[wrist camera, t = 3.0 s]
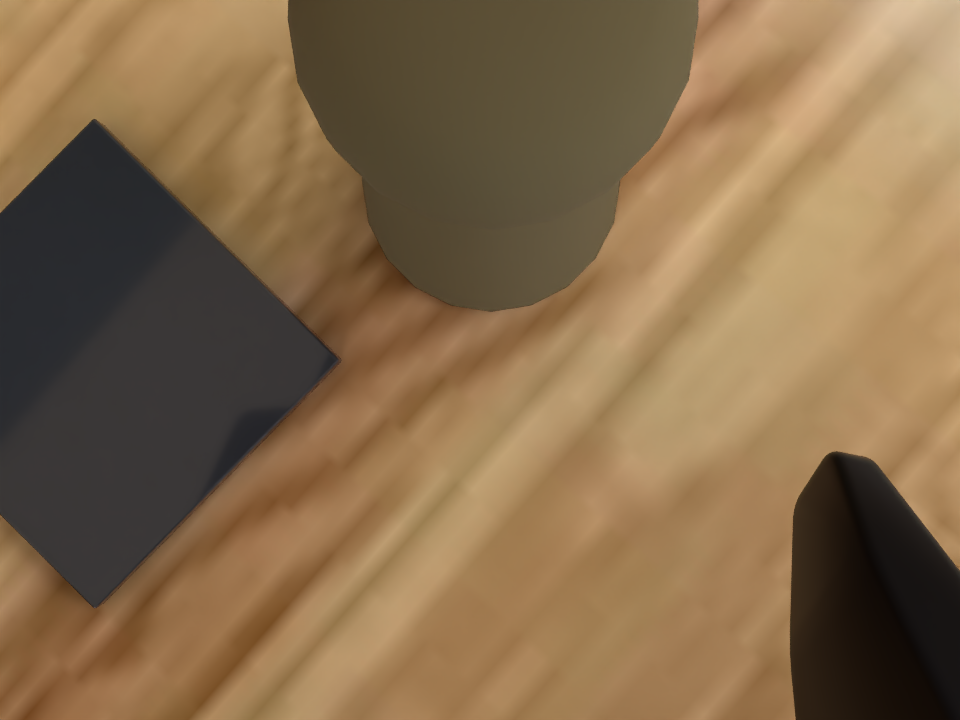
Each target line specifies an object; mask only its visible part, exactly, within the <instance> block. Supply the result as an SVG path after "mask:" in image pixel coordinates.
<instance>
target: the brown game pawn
mask: <svg viewBox="0 0 960 720" xmlns="http://www.w3.org/2000/svg"><path fill="white" fill-rule="evenodd" d="M697 22H698V0H289V1H288V23H289V30H290V36H291V42H292V49H293V55H294V62H295V68H296V74H297V81H298V84H299V86H300V88H301V90H302V92H303V94H304V96H305V97H306V99H307V101H308V103H309V105H310V107H311V109H312V111H313V113H314V115H315V117H316V119H317V121H318V123H319V125H320V127H321V129H322V131H323V133H324V135H325V137H326V139H327V140H328V141H329V143H330V144H331V145H332V147H333V148H334V149H335V151H336V152H337V153H338V154H339V155H340V156H341V157H342V158H343V159H344V160H345V161H347V162H348V163H349V164H350V165H351V166H352V167H353V168H354V169H355V170H356V171H357V172H358V173H359V174H360V175H361V176H362V183H363V190H364V196H365V202H366V208H367V215H368V221H369V224H370V226H371V228H372V230H373V232H374V234H375V236H376V238H377V240H378V242H379V244H380V246H381V248H382V250H383V252H384V254H385V256H386V258H387V259H388V260H389V261H390V262H391V263H392V264H393V265H394V266H395V267H396V268H397V269H398V270H399V271H400V272H401V273H402V274H403V275H404V276H405V277H406V278H407V279H408V280H409V281H410V282H411V283H412V284H413V285H414V286H415V287H416V288H418V289H420V290H422V291H424V292H426V293H428V294H430V295H432V296H434V297H436V298H438V299H440V300H442V301H444V302H446V303H448V304H450V305H452V306H459V307H465V308H472V309H478V310H484V311H491V312H492V311H498V310H504V309H510V308H517V307H523V306H529V305H532V304H534V303H536V302H538V301H540V300H542V299H544V298H546V297H548V296H550V295H552V294H554V293H556V292H558V291H560V290H562V289H564V288H566V287H567V286H568V285H569V284H570V283H571V282H572V281H573V280H574V279H575V278H576V277H577V276H578V275H579V274H580V273H581V272H582V271H583V270H584V269H585V268H586V267H587V266H588V265H589V264H590V263H591V262H592V261H593V260H594V259H595V258H596V256H597V254H598V252H599V250H600V248H601V246H602V244H603V242H604V241H605V239H606V237H607V235H608V233H609V231H610V229H611V227H612V225H613V223H614V217H615V211H616V204H617V198H618V191H619V185H620V179H621V178H622V177H623V176H624V175H625V174H626V173H627V172H628V171H629V170H630V169H631V168H632V167H633V166H634V165H635V164H636V163H637V162H638V161H639V160H640V159H641V158H642V157H643V156H644V155H645V154H646V153H647V152H648V151H649V150H650V149H651V148H652V147H653V145H654V144H655V143H656V141H657V140H658V139H659V138H660V136H661V134H662V132H663V130H664V128H665V126H666V124H667V122H668V120H669V118H670V116H671V114H672V112H673V110H674V108H675V106H676V104H677V102H678V100H679V98H680V96H681V94H682V92H683V90H684V88H685V86H686V84H687V82H688V81H689V75H690V68H691V62H692V55H693V49H694V42H695V35H696V29H697Z"/></svg>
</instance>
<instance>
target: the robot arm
mask: <svg viewBox="0 0 960 720" xmlns="http://www.w3.org/2000/svg"><path fill="white" fill-rule="evenodd" d="M790 658H791V674H792V685H793V695H794V706H795V717H796V720H960V571H959V569H958V568H957V567H956V565H955V564H954V563H953V562H952V560H951V559H950V558H949V556H948V555H947V554H946V553H945V551H944V550H943V549H942V547H941V546H940V545H939V544H938V542H937V541H936V540H935V538H934V537H933V536H932V535H931V533H930V532H929V531H928V529H927V528H926V527H925V526H924V524H923V523H922V522H921V520H920V519H919V518H918V517H917V515H916V514H915V513H914V511H913V510H912V509H911V508H910V506H909V505H908V504H907V502H906V501H905V500H904V499H903V497H902V496H901V495H900V493H899V492H898V491H897V489H896V488H895V487H894V486H893V484H892V483H891V482H890V480H889V479H888V478H887V477H886V475H885V474H884V473H883V471H882V470H881V469H880V468H879V466H878V465H877V464H876V463H875V462H874V461H872V460H871V459H869V458H867V457H863V456H858V455H853V454H848V453H843V452H838V451H836V452H831V453H829V454H828V455H826V456H825V458H824V459H823V460H822V461H821V463H820V465H819V466H818V468H817V469H816V471H815V472H814V474H813V475H812V477H811V478H810V480H809V482H808V483H807V485H806V486H805V488H804V489H803V491H802V492H801V494H800V496H799V497H798V500H797V502H796V505H795V509H794V515H793V540H792V577H791V614H790Z"/></svg>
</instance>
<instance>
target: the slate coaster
mask: <svg viewBox="0 0 960 720" xmlns="http://www.w3.org/2000/svg"><path fill="white" fill-rule="evenodd" d="M341 361H342V360H341V358H340V357H339V356H338V355H337V354H336V353H335V352H334V351H333V350H332V349H331V348H330V347H329V346H328V345H327V344H326V343H325V342H324V341H323V340H322V339H321V338H320V337H319V336H318V335H317V334H316V333H315V332H314V331H313V330H312V329H311V328H310V327H309V326H308V325H306V324H305V323H304V322H303V321H302V320H301V319H300V318H299V317H298V316H297V315H296V314H295V313H294V312H293V311H292V310H291V309H290V308H289V307H288V306H287V305H286V304H285V303H284V302H283V301H282V300H281V299H280V298H279V297H278V296H277V295H276V294H275V293H274V292H273V291H272V290H271V289H270V288H269V287H268V286H267V285H266V284H265V283H264V282H263V281H262V280H261V279H260V278H259V277H258V276H257V275H256V274H255V273H254V272H253V271H252V270H251V269H250V268H249V267H248V266H247V265H246V264H245V263H244V262H243V261H242V260H241V259H240V258H239V257H237V256H236V255H235V254H234V253H233V252H232V251H231V250H230V249H229V248H228V247H227V246H226V245H225V244H224V243H223V242H222V241H221V240H220V239H219V238H218V237H217V236H216V235H215V234H214V233H213V232H212V231H211V230H210V229H209V228H208V227H207V226H206V225H205V224H204V223H203V222H202V221H201V220H200V219H199V218H198V217H197V216H196V215H195V214H194V213H193V212H192V211H191V210H190V209H189V208H188V207H187V206H186V205H185V204H184V203H183V202H182V201H181V200H180V199H179V198H178V197H177V196H176V195H175V194H174V193H173V192H172V191H171V190H170V189H168V188H167V187H166V186H165V185H164V184H163V183H162V182H161V181H160V180H159V179H158V178H157V177H156V176H155V175H154V174H153V173H152V172H151V171H150V170H149V169H148V168H147V167H146V166H145V165H144V164H143V163H142V162H141V161H140V160H139V159H138V158H137V157H136V156H135V155H134V154H133V153H132V152H131V151H130V150H129V149H128V148H127V147H126V146H125V145H124V144H123V143H122V142H121V141H120V140H119V139H118V138H117V137H116V136H115V135H114V134H113V133H112V132H111V131H110V130H109V129H108V128H107V127H106V126H105V125H104V124H102V123H100V122H99V121H97V120H96V119H93V120H92V121H91V122H90V123H89V124H88V125H87V126H86V127H85V128H84V129H83V130H82V131H81V132H80V133H79V134H78V135H77V136H76V137H75V138H74V139H73V140H72V141H71V142H70V143H69V144H68V145H67V146H66V147H65V148H64V149H63V150H62V151H61V152H60V153H59V154H58V155H57V156H56V157H55V158H54V159H53V160H52V161H51V162H50V163H49V164H48V165H47V166H46V167H45V168H44V169H43V170H42V171H41V172H40V173H39V174H38V175H37V176H36V177H35V179H34V180H33V181H32V182H31V183H30V184H29V185H28V186H27V187H26V188H25V189H24V190H23V191H22V192H21V193H20V194H19V195H18V196H17V197H16V198H15V199H14V200H13V201H12V202H11V203H10V204H9V205H8V206H7V207H6V208H5V209H4V210H3V211H2V212H1V213H0V515H1V516H2V517H3V518H4V519H5V520H6V521H7V522H8V523H9V524H10V525H11V526H12V527H13V528H14V529H15V530H16V531H17V532H18V533H19V534H20V535H21V536H22V537H23V538H24V539H25V540H26V541H27V542H28V543H29V544H30V545H31V546H32V547H33V548H34V549H35V550H36V551H37V552H38V553H39V554H40V555H41V556H42V557H43V558H44V559H45V560H46V561H47V562H48V563H49V564H50V565H51V566H52V567H53V568H54V569H55V570H56V571H57V572H58V573H59V574H60V575H61V576H62V577H63V578H64V579H65V580H66V581H67V582H68V583H69V584H70V585H71V586H72V587H73V588H74V589H75V590H76V591H77V592H78V593H79V594H80V595H81V596H82V597H83V598H84V599H85V600H86V601H87V602H88V603H89V604H90V605H91V606H92V607H93V608H97V607H99V606H100V605H102V604H104V603H105V602H106V601H107V600H108V599H109V598H110V597H111V596H112V595H113V594H114V593H115V592H116V591H117V590H118V589H119V588H120V587H121V586H122V585H123V584H124V583H125V582H126V581H127V580H128V579H129V578H130V577H131V576H132V574H133V573H134V572H135V571H136V570H137V569H138V568H139V567H140V566H141V565H142V564H143V563H144V562H145V561H146V560H147V559H148V558H149V557H150V556H151V555H152V554H153V553H154V552H155V551H156V550H157V549H158V548H159V547H160V546H161V545H162V544H163V543H164V542H165V541H166V540H167V539H168V538H169V537H170V536H171V535H172V534H173V533H174V532H175V531H176V530H177V529H178V528H179V527H180V526H181V525H182V524H183V523H184V522H185V521H186V520H187V519H188V518H189V516H190V515H191V514H192V513H193V512H194V511H195V510H196V509H197V508H198V507H199V506H200V505H201V504H202V503H203V502H204V501H205V500H206V499H207V498H208V497H209V496H210V495H211V494H212V493H213V492H214V491H215V490H216V489H217V488H218V487H219V486H220V485H221V484H222V483H223V482H224V481H225V480H226V479H227V478H228V477H229V476H230V475H231V474H232V473H233V472H234V471H235V470H236V469H237V468H238V467H239V466H240V465H241V464H242V463H243V462H244V461H245V460H246V458H247V457H248V456H249V455H250V454H251V453H252V452H253V451H254V450H255V449H256V448H257V447H258V446H259V445H260V444H261V443H262V442H263V441H264V440H265V439H266V438H267V437H268V436H269V435H270V434H271V433H272V432H273V431H274V430H275V429H276V428H277V427H278V426H279V425H280V424H281V423H282V422H283V421H284V420H285V419H286V418H287V417H288V416H289V415H290V414H291V413H292V412H293V411H294V410H295V409H296V408H297V407H298V406H299V405H300V404H301V403H302V402H303V400H304V399H305V398H306V397H307V396H308V395H309V394H310V393H311V392H312V391H313V390H314V389H315V388H316V387H317V386H318V385H319V384H320V383H321V382H322V381H323V380H324V379H325V378H326V377H327V376H328V375H329V374H330V373H331V372H332V371H333V370H334V369H335V368H336V367H337V366H338V365H339V364H340V363H341Z"/></svg>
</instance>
